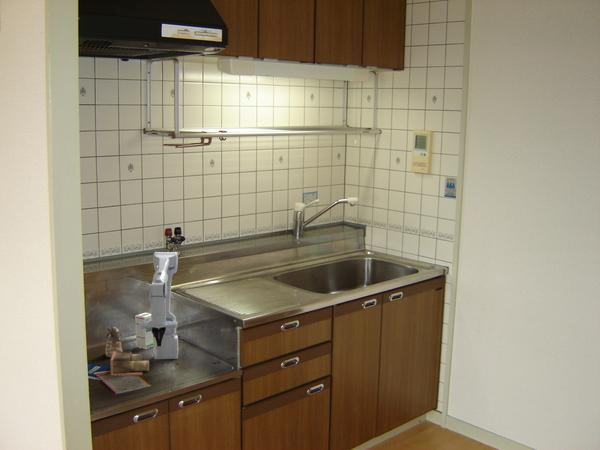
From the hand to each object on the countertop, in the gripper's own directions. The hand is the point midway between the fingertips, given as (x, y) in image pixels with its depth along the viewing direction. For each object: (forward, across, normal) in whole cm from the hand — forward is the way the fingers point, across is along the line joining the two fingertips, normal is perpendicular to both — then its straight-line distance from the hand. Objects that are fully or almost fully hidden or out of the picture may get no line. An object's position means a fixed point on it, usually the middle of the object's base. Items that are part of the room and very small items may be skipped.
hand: (159, 345), depth 278 cm
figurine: (+10, -20, +18) cm, 29 cm away
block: (+9, -14, -1) cm, 17 cm away
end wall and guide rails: (+9, -12, -1) cm, 15 cm away
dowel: (+10, -10, -1) cm, 14 cm away
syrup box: (+10, -8, +27) cm, 30 cm away
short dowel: (+9, -12, +8) cm, 17 cm away
